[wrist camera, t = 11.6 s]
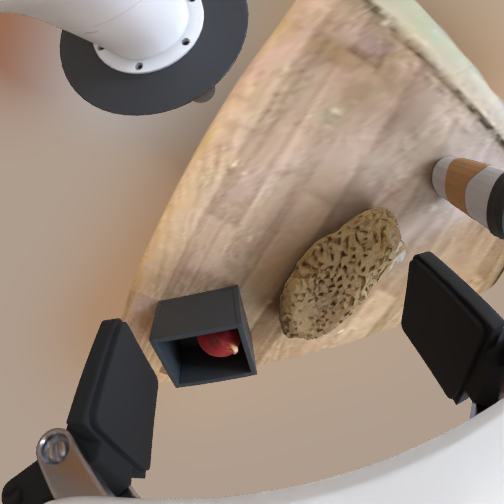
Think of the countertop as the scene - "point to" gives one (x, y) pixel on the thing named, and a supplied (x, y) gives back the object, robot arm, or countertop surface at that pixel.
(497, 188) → the coffee cup
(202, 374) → the waste bin
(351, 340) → the countertop surface
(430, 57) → the countertop surface
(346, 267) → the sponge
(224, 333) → the onion
